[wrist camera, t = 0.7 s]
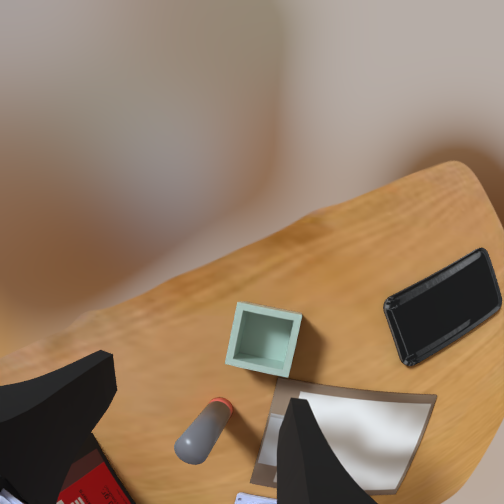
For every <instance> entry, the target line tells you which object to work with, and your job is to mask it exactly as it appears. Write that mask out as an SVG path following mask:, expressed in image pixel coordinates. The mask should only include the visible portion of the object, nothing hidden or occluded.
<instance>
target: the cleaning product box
mask: <svg viewBox="0 0 504 504" xmlns="http://www.w3.org/2000/svg"><path fill="white" fill-rule="evenodd" d="M22 503H23V502H22ZM23 504H25V503H23ZM56 504H136V503H135V502H134V501H133V499H132V498H131V496H130V495H129V493H128V492H127V490H126V489H125V488H124V486H123V485H122V483H121V481H120V480H119V478H118V477H117V475H116V474H115V472H114V470H113V469H112V467H111V466H110V464H109V462H108V460H107V459H106V457H105V455H104V454H103V452H102V450H101V448H100V446H99V445H98V443H97V441H96V439H95V437H94V435H93V433H90V434H89V436H88V437H87V438H86V440H85V441H84V443H83V444H82V446H81V447H80V449H79V451H78V453H77V455H76V457H75V459H74V461H73V463H72V465H71V467H70V469H69V471H68V474H67V476H66V478H65V480H64V483H63V486H62V488H61V491H60V494H59V497H58V500H57V503H56Z"/></svg>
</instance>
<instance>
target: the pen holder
mask: <svg viewBox="0 0 504 504" xmlns="http://www.w3.org/2000/svg"><path fill="white" fill-rule="evenodd" d="M301 319H302V314H301V312H295V311H290V310H285V309H280V308H275V307H270V306H265V305H260V304H255V303H250V302H245V301H243V302H237V307H236V312H235V317H234V322H233V326H232V331H231V336H230V341H229V346H228V351H227V356H226V361H225V364H228V365H232V366H236V367H241V368H245V369H249V370H254V371H258V372H263V373H268V374H272V375H277V376H283V377H288V376H289V372H290V368H291V364H292V359H293V355H294V351H295V346H296V342H297V337H298V333H299V328H300V323H301Z"/></svg>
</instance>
